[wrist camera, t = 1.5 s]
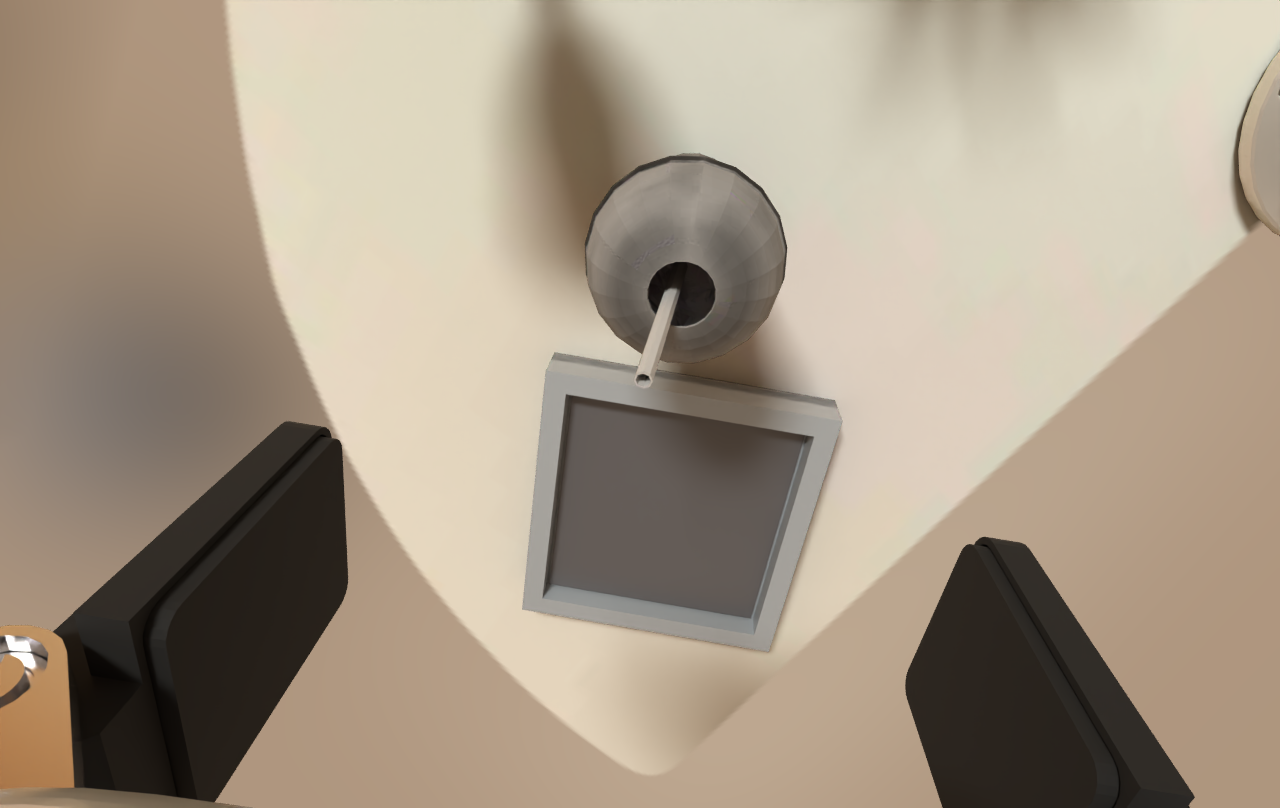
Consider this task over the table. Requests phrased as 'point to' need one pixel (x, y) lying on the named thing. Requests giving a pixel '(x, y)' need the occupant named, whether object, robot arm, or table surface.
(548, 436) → the tray
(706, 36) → the table surface
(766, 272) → the beverage cup
